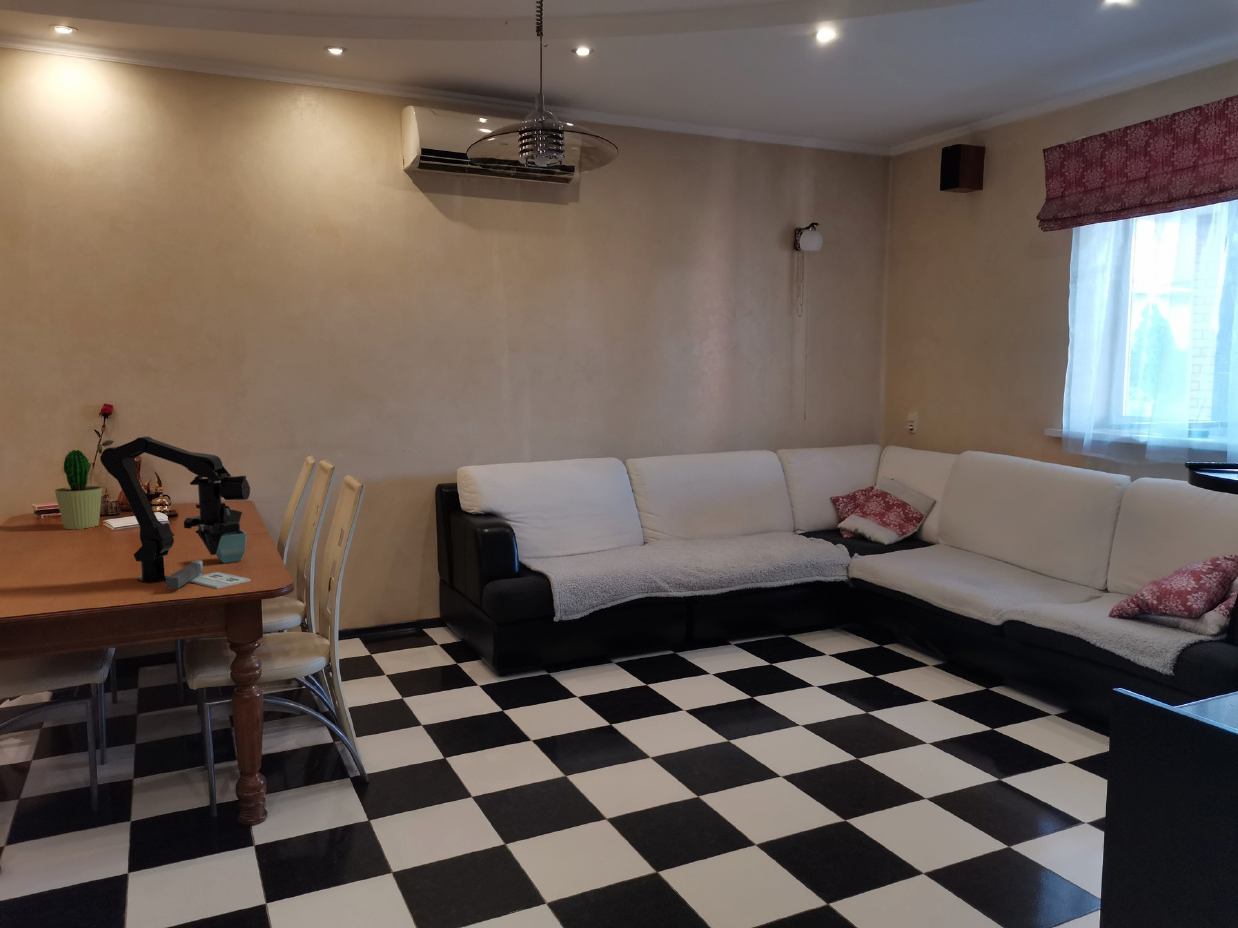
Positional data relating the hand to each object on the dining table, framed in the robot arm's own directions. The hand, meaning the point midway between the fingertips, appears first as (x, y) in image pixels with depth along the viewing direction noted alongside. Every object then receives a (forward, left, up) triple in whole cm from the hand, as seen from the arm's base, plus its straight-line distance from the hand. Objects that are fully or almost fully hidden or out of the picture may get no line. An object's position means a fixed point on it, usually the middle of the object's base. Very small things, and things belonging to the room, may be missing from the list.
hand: (213, 554), depth 251 cm
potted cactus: (-121, +20, -7) cm, 123 cm away
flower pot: (-18, +16, -7) cm, 25 cm away
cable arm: (-1, -7, -6) cm, 10 cm away
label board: (+1, -1, -7) cm, 7 cm away
